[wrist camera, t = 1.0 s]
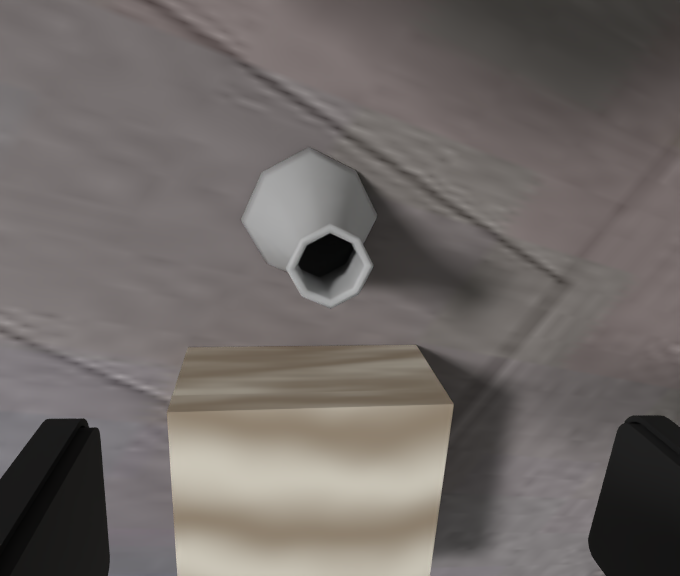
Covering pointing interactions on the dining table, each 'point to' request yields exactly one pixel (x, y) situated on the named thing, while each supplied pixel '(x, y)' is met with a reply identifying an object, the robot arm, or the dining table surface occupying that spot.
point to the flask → (313, 225)
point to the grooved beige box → (307, 460)
